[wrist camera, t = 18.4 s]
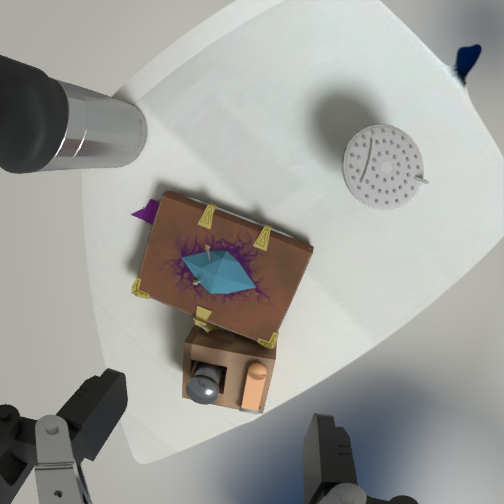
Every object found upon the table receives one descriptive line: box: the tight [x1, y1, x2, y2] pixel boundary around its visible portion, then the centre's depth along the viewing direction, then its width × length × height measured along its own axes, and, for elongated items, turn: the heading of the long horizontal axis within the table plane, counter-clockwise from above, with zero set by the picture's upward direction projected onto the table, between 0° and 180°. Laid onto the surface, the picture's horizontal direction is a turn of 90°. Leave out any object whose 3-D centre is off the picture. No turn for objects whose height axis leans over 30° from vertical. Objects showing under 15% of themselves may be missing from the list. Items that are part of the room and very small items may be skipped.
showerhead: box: [342, 124, 429, 211], centre depth 33 cm, size 9×7×10 cm
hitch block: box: [182, 325, 277, 414], centre depth 43 cm, size 12×10×5 cm
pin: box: [186, 361, 224, 404], centre depth 42 cm, size 4×4×9 cm
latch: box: [239, 362, 267, 414], centre depth 40 cm, size 3×9×1 cm, turn 172°
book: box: [131, 190, 314, 349], centre depth 41 cm, size 16×25×5 cm, turn 70°
